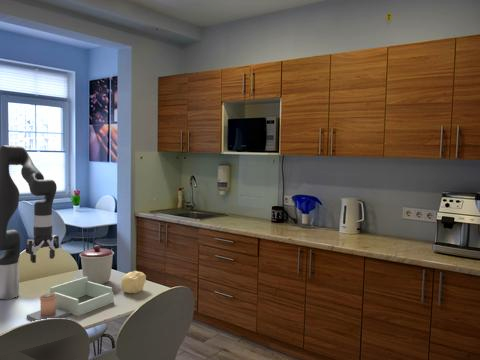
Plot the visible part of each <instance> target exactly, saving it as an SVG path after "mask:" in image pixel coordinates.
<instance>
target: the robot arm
mask: <svg viewBox="0 0 480 360" xmlns="http://www.w3.org/2000/svg"><path fill="white" fill-rule="evenodd" d="M10 166H21V169H20V172H21V173H20V175H21V176H22V178H23V179H24V180H25V182H26V183H27V185H28V187H29V191H30V193H31V195H32V196H35V197H41V196H42V197H43V196H44V197H43V198H42V199H41V200H38V201H36V202H34V205H33V206H34V207H33V209H34V210H33V211H34V212H33V213H34V215H33V239H27V240H26V242H25V253H26V254H28V255H29V256H30V262H31V263H32V264H35V263H37V252H38V251H39V250H40V249H42V248H48V249H49V259H52V260H53V259H54V258H55V256H56V253H55V252H56V250H57V249H59V248H60V239H59V237H60V236H59V235H57V234H53V202H54V200H55V196H56V193H57V183H56V182H55V180H53V179H45V177H44V175H43V174H42V172H41V171H40V170H39V169H38V168H37V166H35V164H34V162H33V160H32V158H31V156H30V155H29V153H28V152H27V150H26V149H25V148H24V147H23V146H20V145H5V144H4V145H1V146H0V252H1V251H4V252H3V253H2V254H1V255H0V299H8V300H11V299H10V298H13V299H15V298H14V297H16V298H18V297H20V272H19V271H20V270H19V269H20V268H19V259H20V255H21V236H20V233H19V231H17V230H16V229H8V225H9V222H10V220H11V219H12V217H13V216H14V214H15V212H16V211H17V209H18V208H19V202H20V190H19V188H18V186H17V185H16V183H15V181H14V180H13V179H12V176H11V174H10V173H11V172H10ZM17 296H18V297H17Z"/></svg>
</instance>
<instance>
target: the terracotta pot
mask: <svg viewBox="0 0 480 360" xmlns="http://www.w3.org/2000/svg"><path fill="white" fill-rule="evenodd" d="M55 297H56V294H54V293H50V292H48V293H43V294H40V296H39V300H40V303H39V304H40V306H39V307H40V308H39V309H40V310H41V316H51V315H53V314H55V313H56V299H55Z"/></svg>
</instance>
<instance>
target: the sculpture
mask: <svg viewBox="0 0 480 360" xmlns="http://www.w3.org/2000/svg"><path fill="white" fill-rule="evenodd" d="M146 280H147V275H146V274H145V273H144V272H142V271H139V270H138V271H137V270H133V271H129V272H128V273H126V274H124V275H123V276H122V279H121V290H122V291H123V292H125V293H127V294H138V293H140V292H141V291H143V290H144V287H145V283H146Z"/></svg>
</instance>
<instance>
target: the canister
mask: <svg viewBox="0 0 480 360" xmlns="http://www.w3.org/2000/svg"><path fill="white" fill-rule="evenodd" d="M114 255H115V252H114V251H113V250H111V249H108V248H101V246H100V245H98V244H96V245H94V246H93V248H91V249H86V250H84V251H82V252H81V253H79V257H80V261H81V263H80V264H81V270H82V278H84V277H88V281H90V282H93V283H97V284H101V285H105V284H107V283H108V282H109V281H110V278H111V274H112V267H113V256H114Z"/></svg>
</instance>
